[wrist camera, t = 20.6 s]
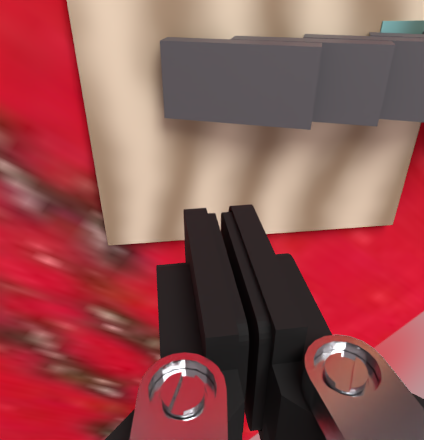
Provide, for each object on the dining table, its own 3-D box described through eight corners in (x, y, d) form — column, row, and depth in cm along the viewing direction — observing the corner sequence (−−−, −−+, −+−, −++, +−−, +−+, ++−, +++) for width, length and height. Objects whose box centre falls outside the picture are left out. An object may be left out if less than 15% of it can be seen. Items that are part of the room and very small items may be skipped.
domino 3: (294, 112, 29) (446, 124, 27) (303, 37, 27) (471, 43, 24) (296, 106, 31) (441, 116, 28) (304, 33, 28) (465, 39, 26)
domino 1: (164, 118, 28) (310, 129, 26) (159, 40, 26) (322, 47, 24) (171, 111, 30) (311, 122, 28) (167, 36, 27) (322, 42, 25)
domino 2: (228, 115, 29) (377, 126, 27) (230, 39, 26) (395, 45, 24) (233, 109, 30) (374, 119, 28) (235, 35, 27) (391, 40, 25)
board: (109, 238, 36) (108, 246, 35) (65, -25, 25) (62, -25, 24) (387, 219, 39) (393, 225, 38) (453, -27, 28) (463, -27, 27)
